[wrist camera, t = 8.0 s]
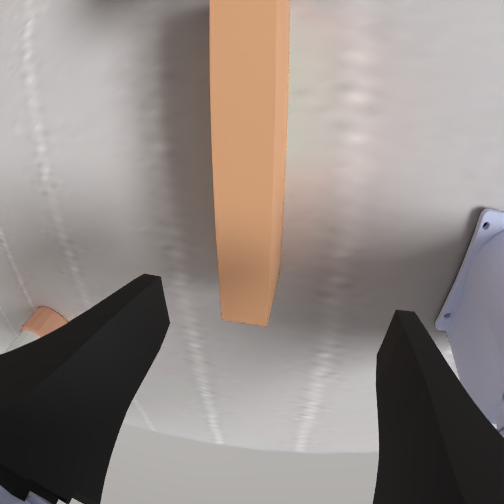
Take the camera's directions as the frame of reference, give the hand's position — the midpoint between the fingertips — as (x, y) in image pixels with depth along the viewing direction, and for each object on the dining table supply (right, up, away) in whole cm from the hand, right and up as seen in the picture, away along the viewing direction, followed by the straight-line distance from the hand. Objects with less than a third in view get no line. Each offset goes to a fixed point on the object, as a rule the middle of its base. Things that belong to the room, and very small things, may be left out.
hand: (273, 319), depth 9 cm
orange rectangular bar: (0, +8, +7) cm, 10 cm away
